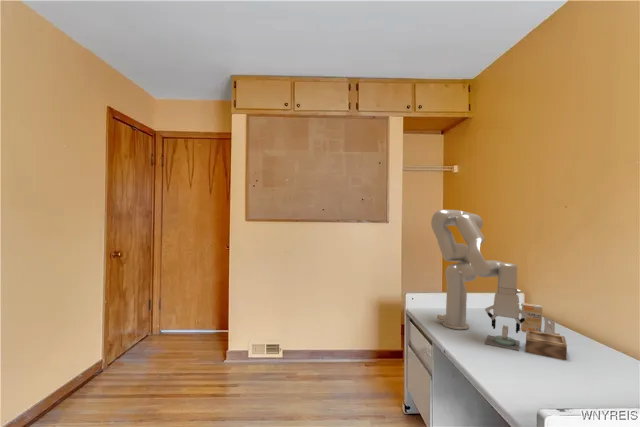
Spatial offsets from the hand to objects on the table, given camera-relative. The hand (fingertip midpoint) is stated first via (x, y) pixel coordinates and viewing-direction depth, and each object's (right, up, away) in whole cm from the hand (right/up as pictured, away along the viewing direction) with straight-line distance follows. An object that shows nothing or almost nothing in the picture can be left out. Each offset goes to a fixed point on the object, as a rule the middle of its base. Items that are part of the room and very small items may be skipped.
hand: (505, 330), depth 157 cm
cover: (0, -5, 0) cm, 5 cm away
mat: (-1, -6, 0) cm, 6 cm away
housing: (+13, -6, -8) cm, 16 cm away
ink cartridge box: (+24, -7, +6) cm, 26 cm away
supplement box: (+23, -7, +19) cm, 30 cm away
